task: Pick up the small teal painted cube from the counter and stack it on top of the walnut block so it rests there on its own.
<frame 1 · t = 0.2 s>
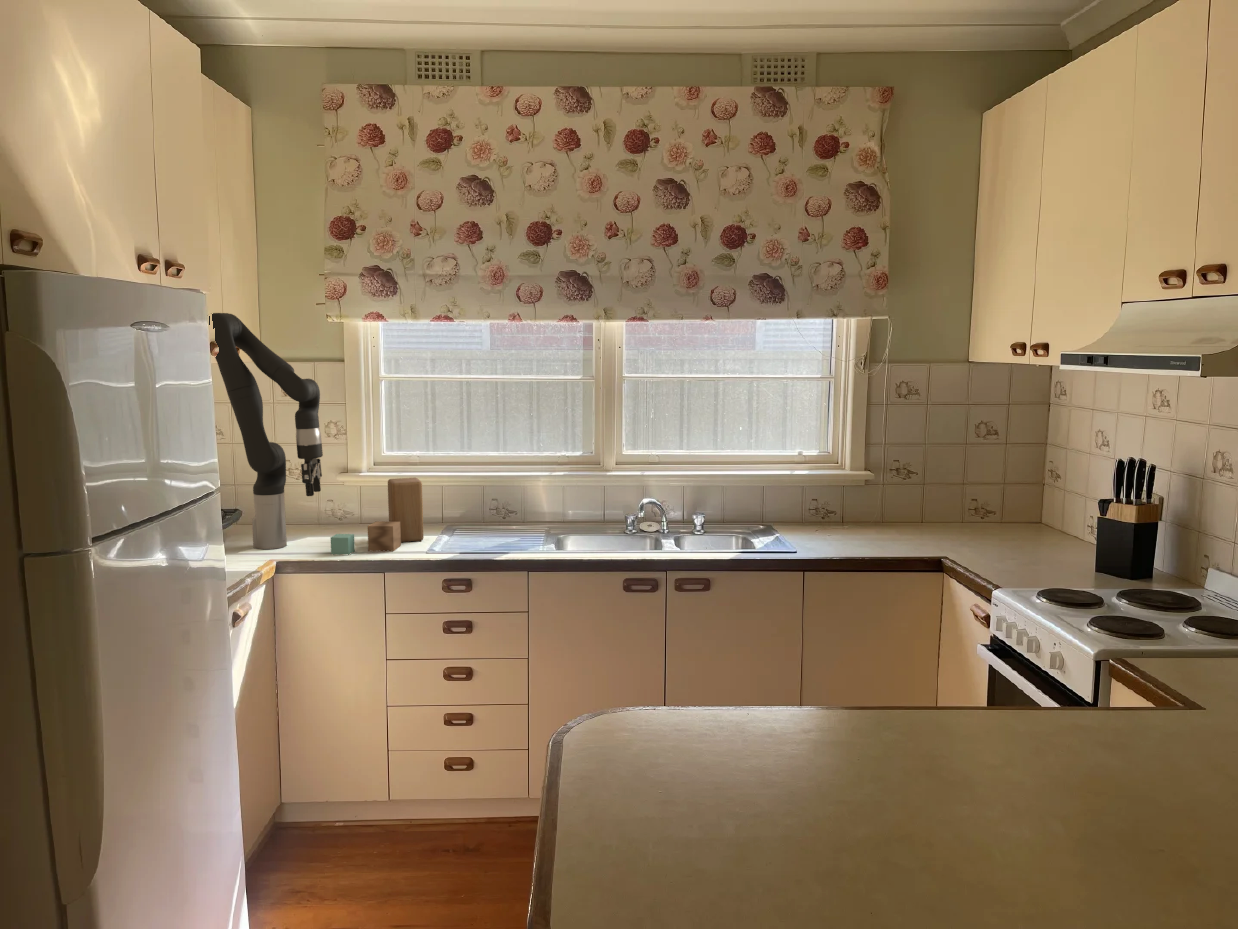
hand: (313, 493, 291), 17 cm above the counter, tool pointing down, fingers open, 8 cm apart
block: (406, 540, 305), on the counter
walnut block: (384, 548, 292), on the counter
teal cube: (343, 553, 285), on the counter
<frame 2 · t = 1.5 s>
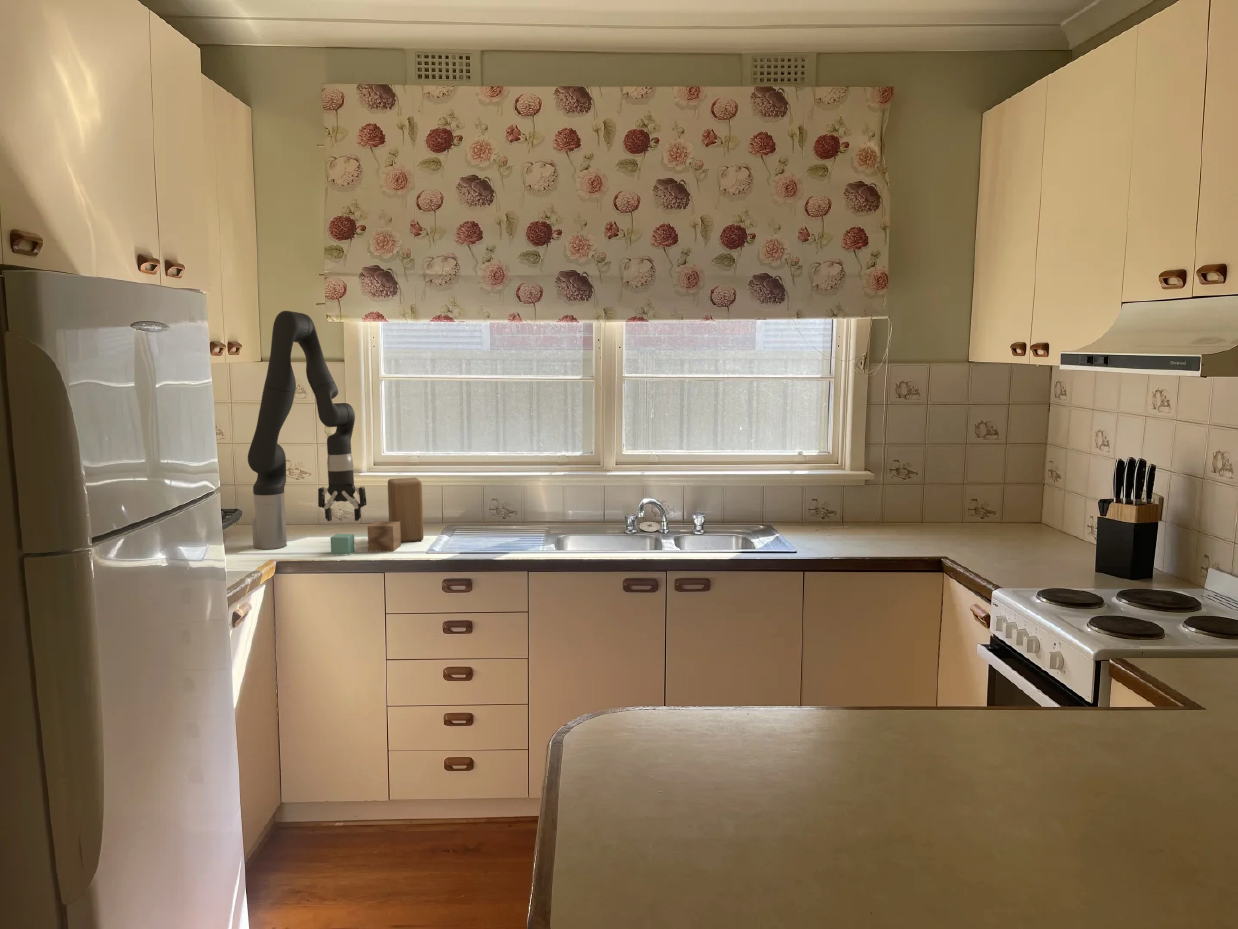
hand: (343, 520, 284), 10 cm above the counter, tool pointing down, fingers open, 8 cm apart
nothing on the counter moved.
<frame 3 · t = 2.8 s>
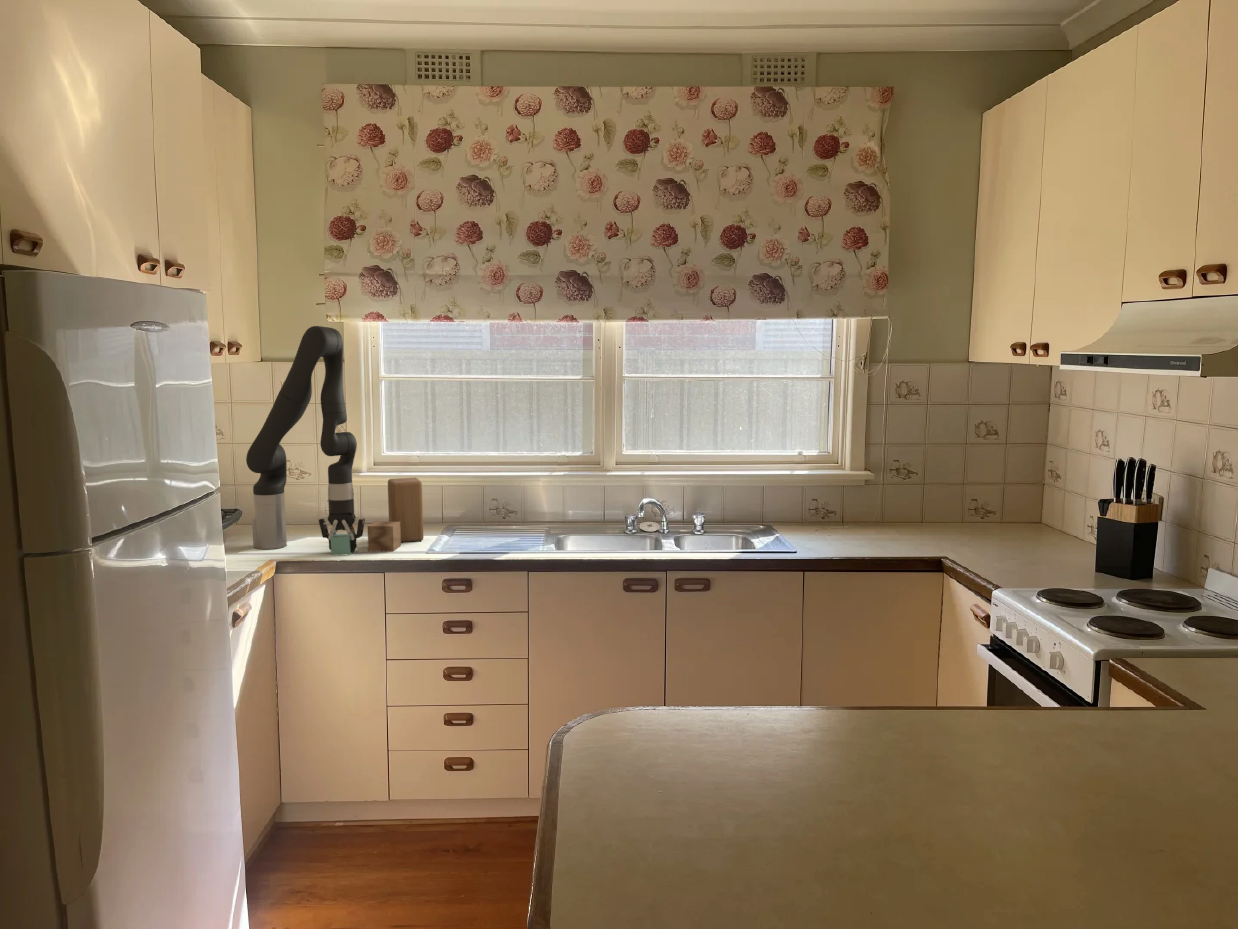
hand: (343, 551, 285), 1 cm above the counter, tool pointing down, fingers closed on teal cube, 5 cm apart
teal cube: (343, 553, 285), on the counter, touching gripper
everything else where it was.
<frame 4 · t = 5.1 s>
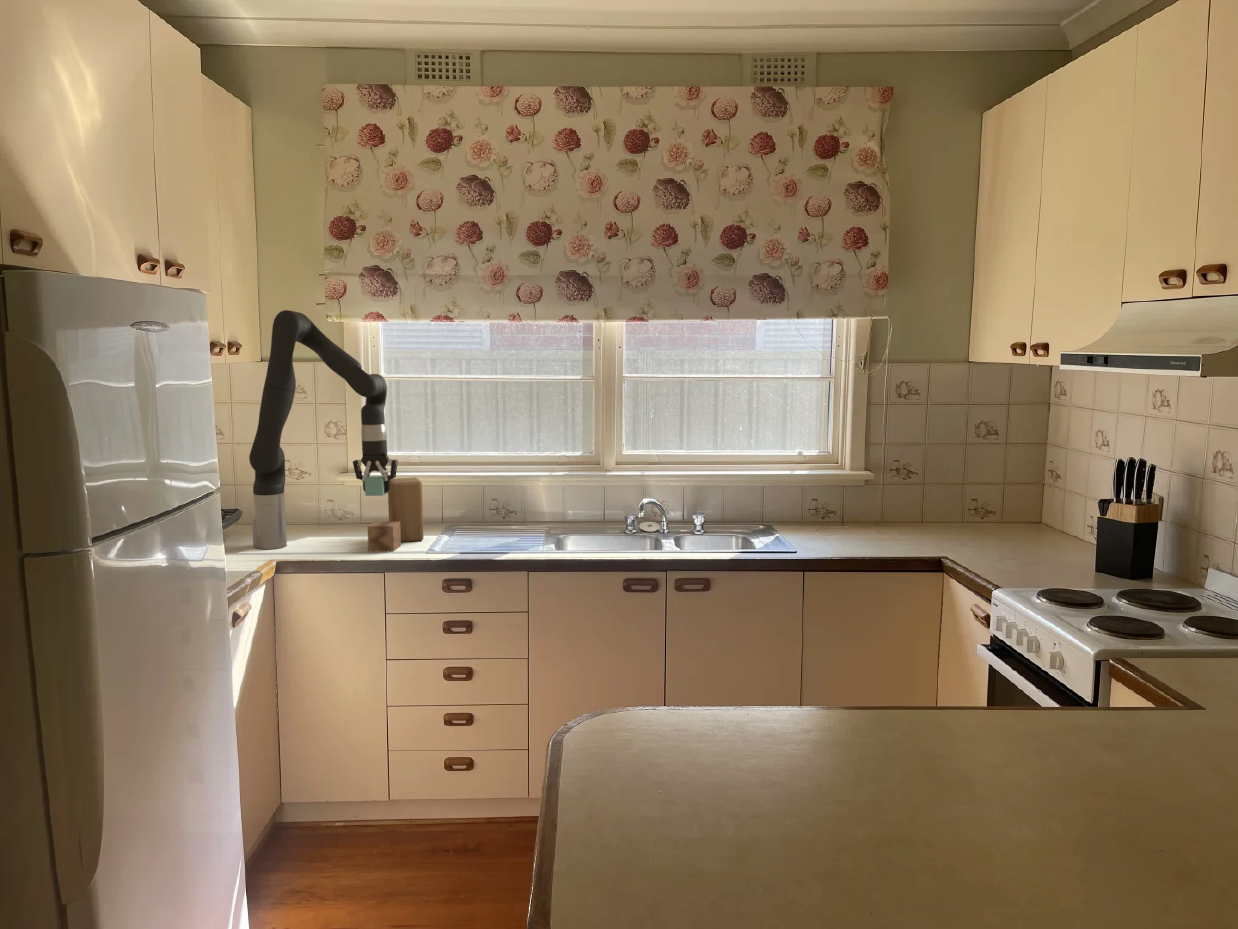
hand: (377, 492, 288), 18 cm above the counter, tool pointing down, fingers closed on teal cube, 5 cm apart
teal cube: (376, 494, 288), point 18 cm above the counter, touching gripper
everything else where it was.
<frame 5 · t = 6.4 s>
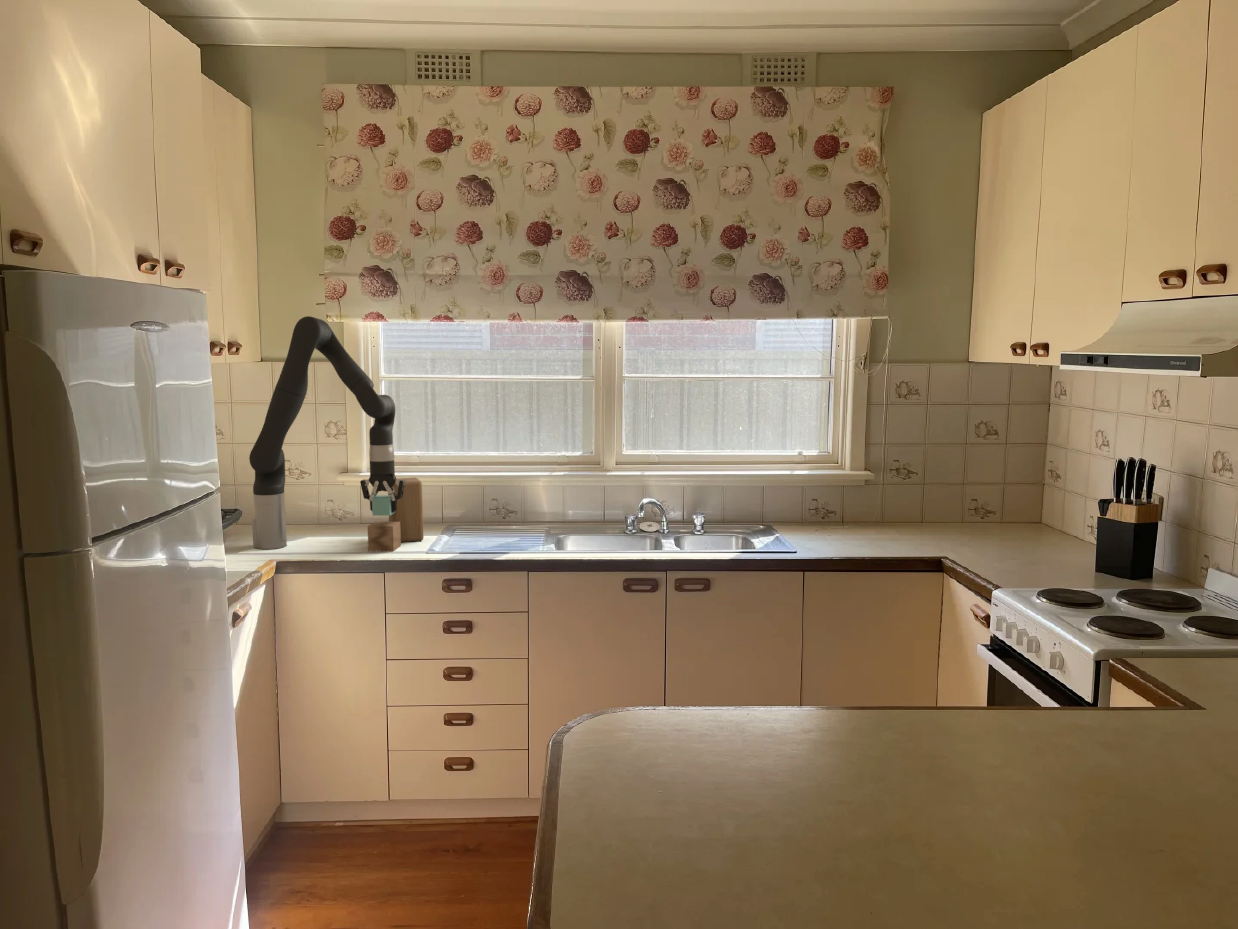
hand: (383, 512, 290), 12 cm above the counter, tool pointing down, fingers closed on teal cube, 5 cm apart
teal cube: (383, 513, 290), point 11 cm above the counter, touching gripper
everything else where it was.
when the fingers open (9 cm above the counter, at t = 7.3 s): teal cube stays where it is, point 8 cm above the counter.
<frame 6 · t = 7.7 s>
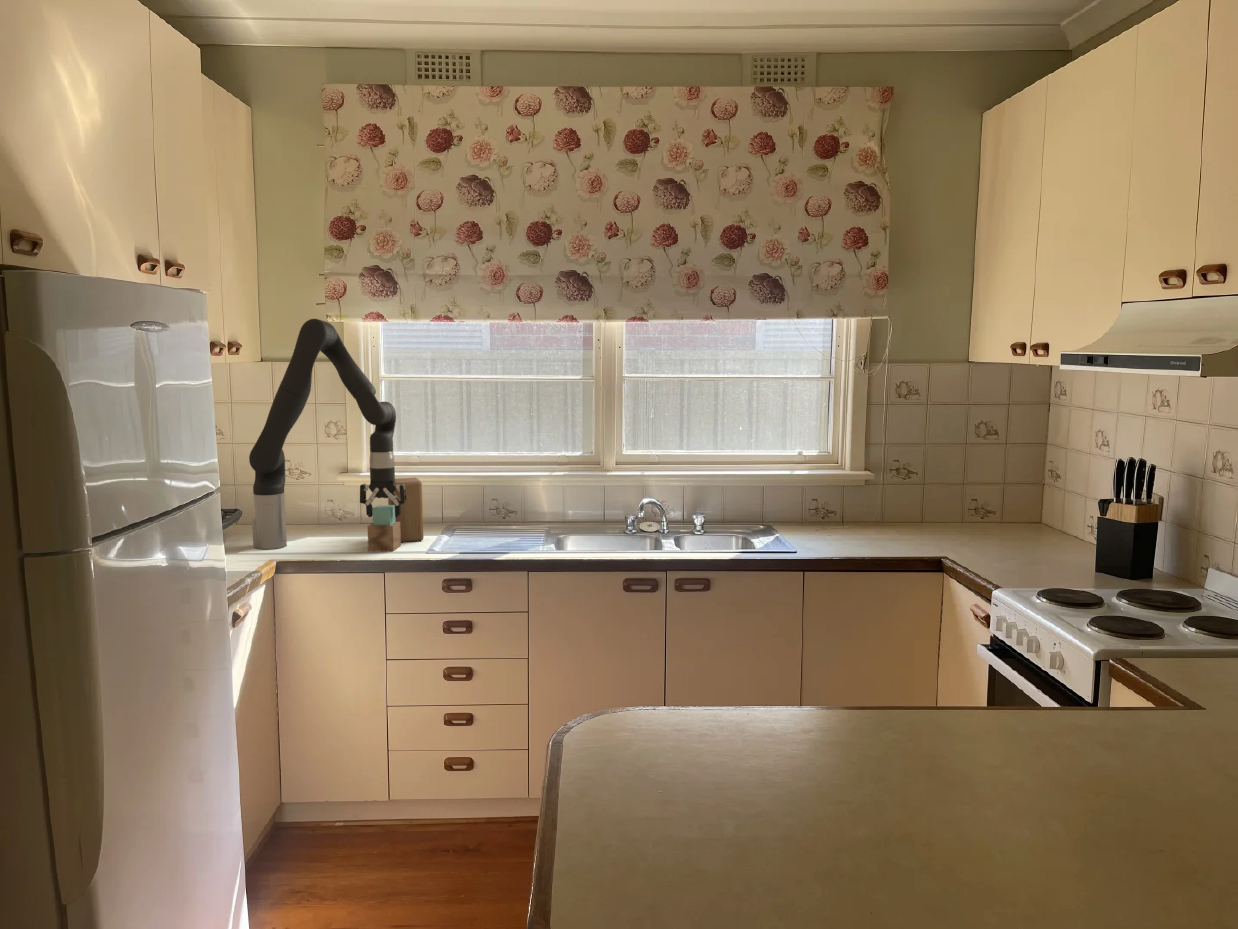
hand: (383, 516, 290), 10 cm above the counter, tool pointing down, fingers open, 8 cm apart
teal cube: (384, 523, 291), point 8 cm above the counter
everything else where it was.
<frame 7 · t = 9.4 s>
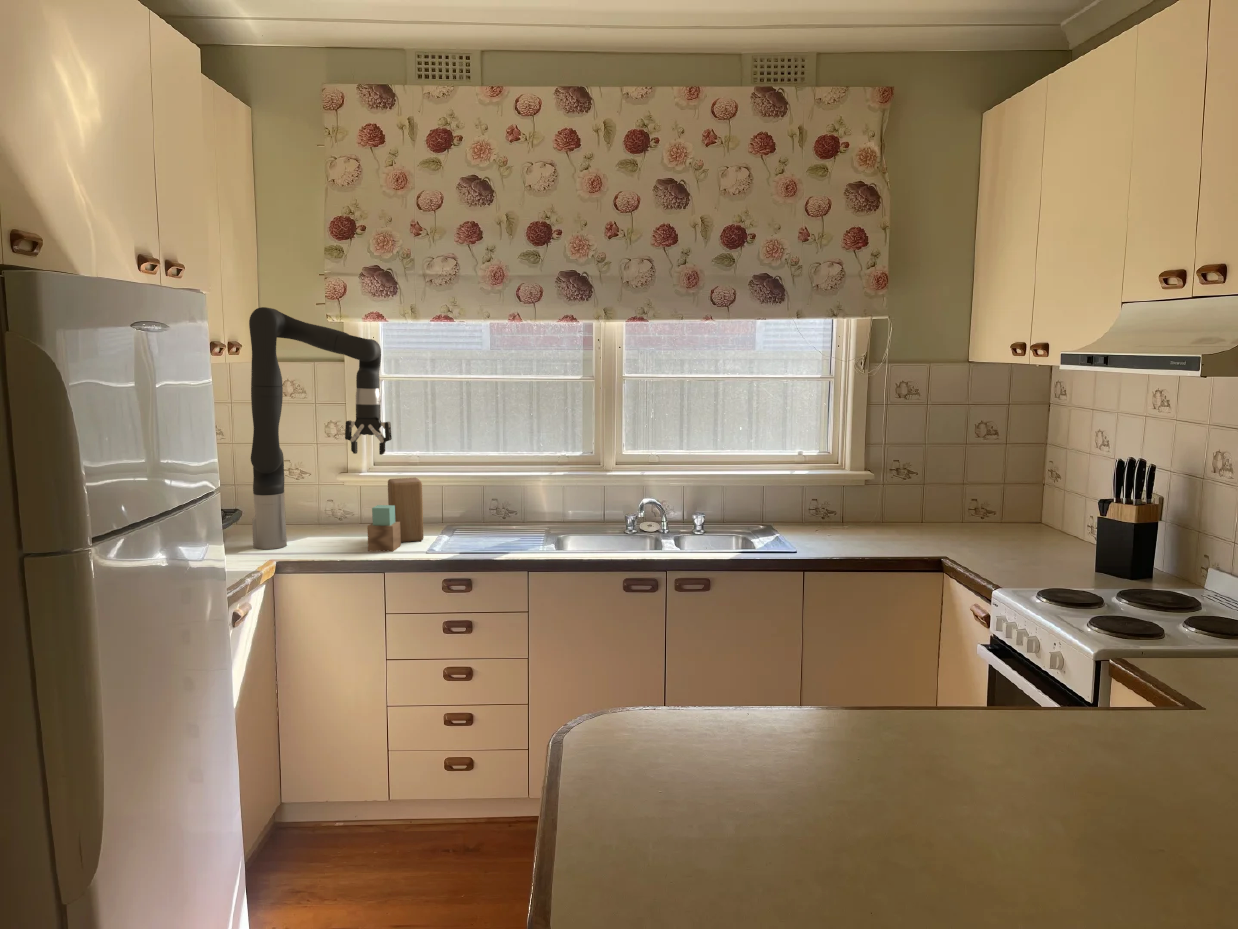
hand: (368, 453, 292), 30 cm above the counter, tool pointing down, fingers open, 8 cm apart
walnut block: (384, 548, 292), on the counter, touching teal cube
teal cube: (384, 523, 291), point 8 cm above the counter, touching walnut block
everything else where it was.
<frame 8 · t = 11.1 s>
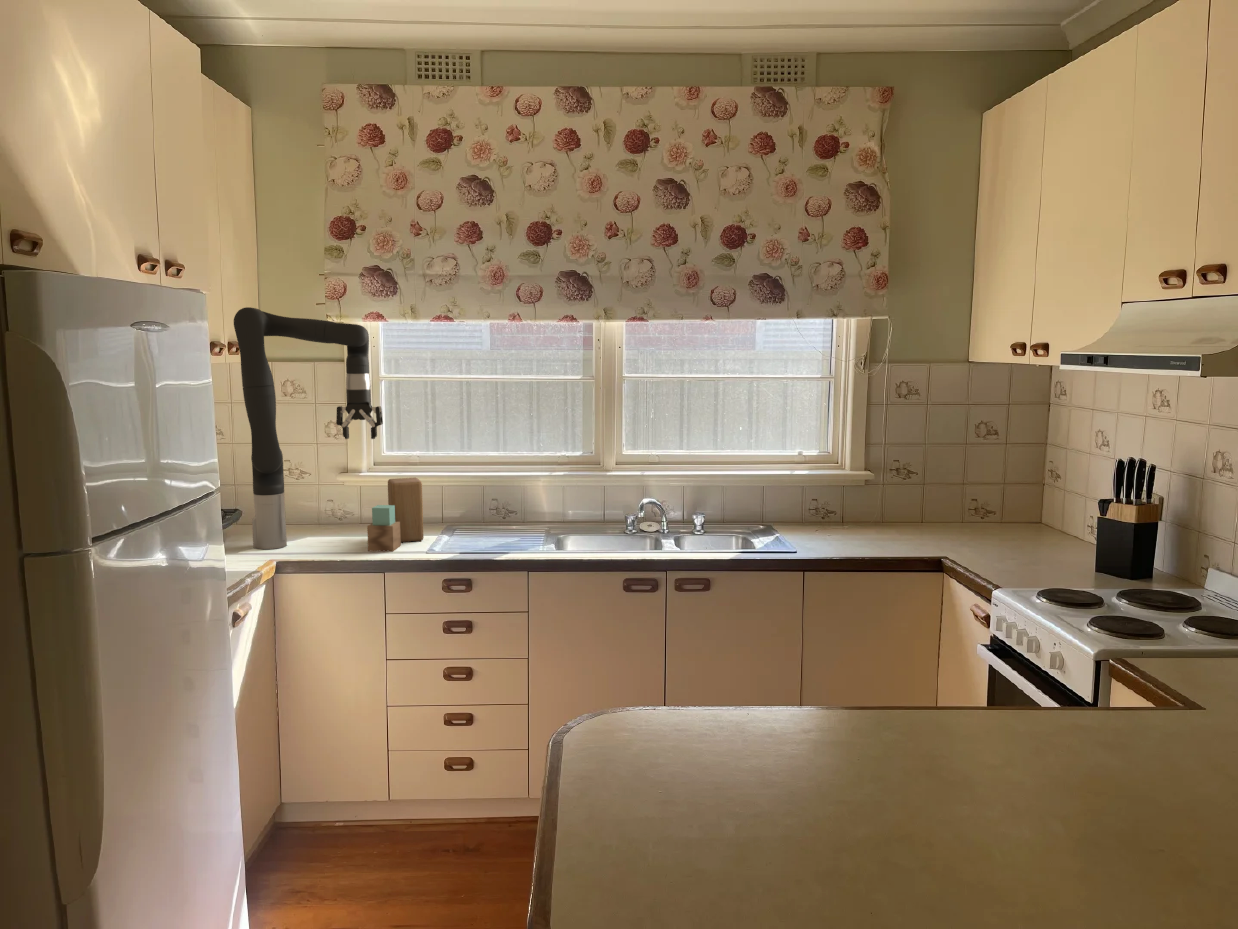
hand: (360, 438, 295), 34 cm above the counter, tool pointing down, fingers open, 8 cm apart
nothing on the counter moved.
at the end: teal cube 0.1 cm off-centre on the walnut block, point 8.0 cm above the walnut block's base; the gripper is holding nothing; teal cube tilted 0° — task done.
